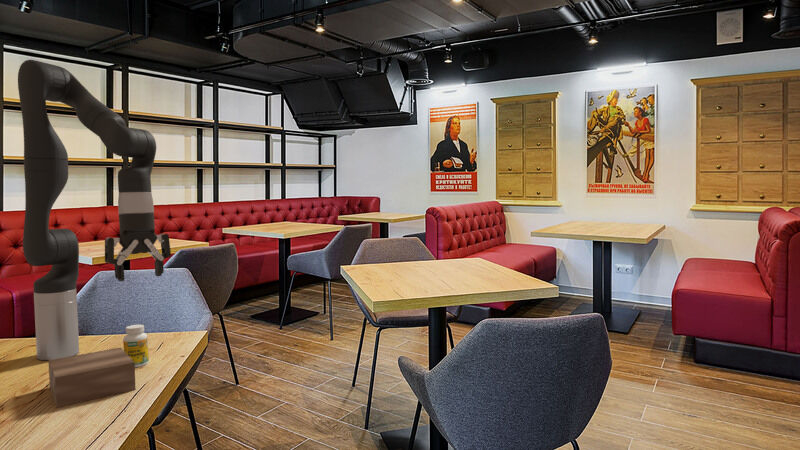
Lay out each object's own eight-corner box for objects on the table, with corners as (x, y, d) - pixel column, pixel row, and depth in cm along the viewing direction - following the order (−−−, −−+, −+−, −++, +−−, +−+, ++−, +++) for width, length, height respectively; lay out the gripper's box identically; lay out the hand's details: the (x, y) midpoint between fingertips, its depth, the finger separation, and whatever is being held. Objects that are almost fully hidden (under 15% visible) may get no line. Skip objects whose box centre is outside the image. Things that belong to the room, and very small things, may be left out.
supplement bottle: (147, 359, 127) (146, 322, 127) (150, 365, 123) (148, 327, 122) (123, 363, 124) (121, 325, 124) (125, 369, 120) (123, 330, 119)
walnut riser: (49, 387, 109) (48, 360, 109) (121, 372, 118) (120, 347, 118) (56, 407, 98) (55, 377, 98) (135, 389, 107) (134, 362, 107)
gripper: (160, 210, 128) (163, 273, 129) (98, 212, 118) (102, 281, 118) (172, 210, 123) (176, 275, 124) (109, 212, 113) (113, 284, 113)
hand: (140, 278), depth 121 cm, fingers open, 8 cm apart
